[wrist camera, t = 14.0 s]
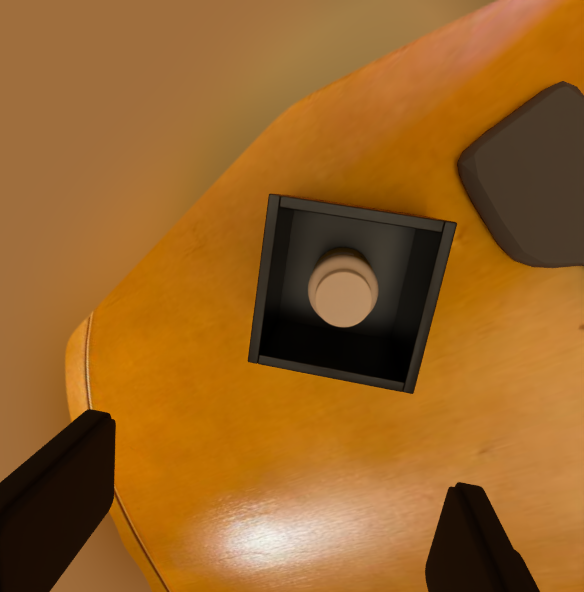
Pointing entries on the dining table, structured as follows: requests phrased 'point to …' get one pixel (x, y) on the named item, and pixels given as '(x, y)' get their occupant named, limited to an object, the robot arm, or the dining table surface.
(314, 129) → the dining table surface
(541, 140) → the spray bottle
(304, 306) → the trash bin
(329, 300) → the supplement bottle
